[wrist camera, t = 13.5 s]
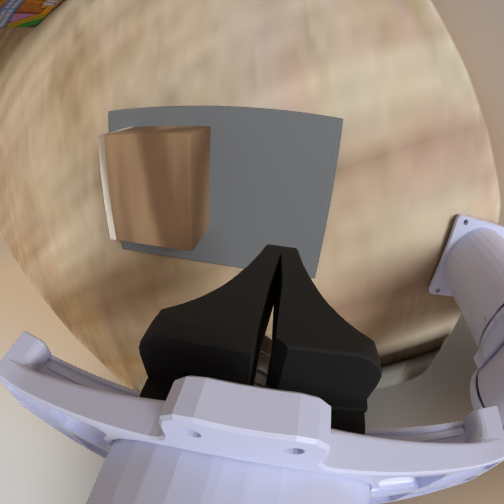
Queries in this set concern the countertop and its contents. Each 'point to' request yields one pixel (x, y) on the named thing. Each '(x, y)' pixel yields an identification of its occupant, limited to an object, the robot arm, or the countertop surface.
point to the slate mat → (255, 179)
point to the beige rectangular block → (157, 184)
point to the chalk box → (25, 12)
